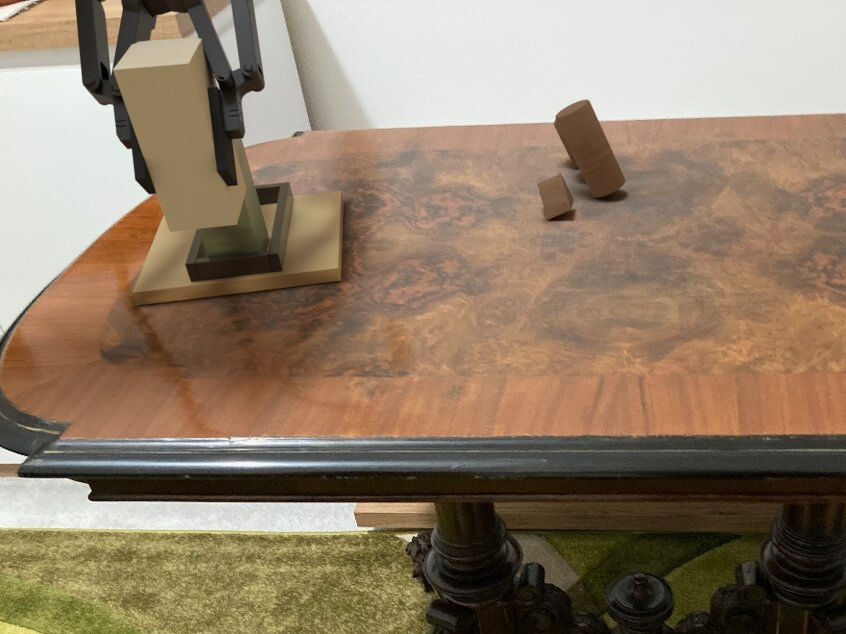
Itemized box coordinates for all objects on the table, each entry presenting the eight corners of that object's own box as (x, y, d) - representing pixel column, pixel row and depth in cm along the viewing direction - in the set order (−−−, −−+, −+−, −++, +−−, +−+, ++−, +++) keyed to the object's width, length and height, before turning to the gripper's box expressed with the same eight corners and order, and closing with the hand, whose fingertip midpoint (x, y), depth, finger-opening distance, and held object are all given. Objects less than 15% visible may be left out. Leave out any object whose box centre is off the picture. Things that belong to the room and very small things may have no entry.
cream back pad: (169, 232, 70) (112, 69, 63) (184, 195, 76) (133, 41, 68) (237, 224, 71) (188, 63, 63) (246, 189, 76) (203, 36, 69)
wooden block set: (569, 177, 119) (533, 103, 114) (630, 150, 117) (596, 73, 111) (554, 233, 105) (511, 151, 100) (623, 204, 102) (583, 118, 97)
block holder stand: (137, 305, 92) (85, 175, 83) (169, 221, 107) (128, 104, 99) (341, 280, 94) (310, 152, 86) (344, 202, 110) (318, 86, 101)
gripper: (285, -82, 75) (321, 189, 73) (52, -66, 73) (82, 214, 71) (262, -152, 68) (301, 148, 66) (2, -137, 65) (33, 174, 63)
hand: (187, 182), depth 68 cm, fingers closed on cream back pad, 5 cm apart
